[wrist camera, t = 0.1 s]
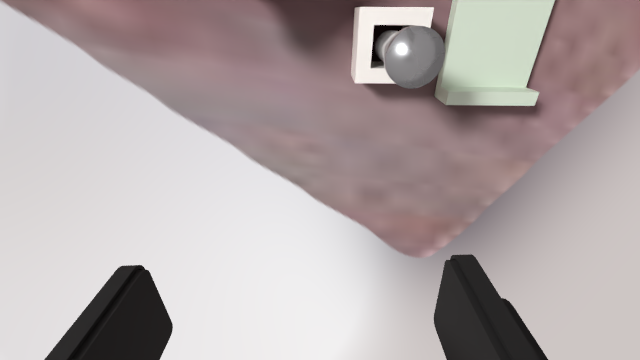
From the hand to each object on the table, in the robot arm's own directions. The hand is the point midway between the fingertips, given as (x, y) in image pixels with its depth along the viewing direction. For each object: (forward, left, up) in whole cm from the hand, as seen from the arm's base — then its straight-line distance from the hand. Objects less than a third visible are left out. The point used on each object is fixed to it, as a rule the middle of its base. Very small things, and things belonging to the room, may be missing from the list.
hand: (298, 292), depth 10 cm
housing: (-5, +8, -31) cm, 32 cm away
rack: (-7, +20, -31) cm, 37 cm away
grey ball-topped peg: (-5, +8, -28) cm, 29 cm away
